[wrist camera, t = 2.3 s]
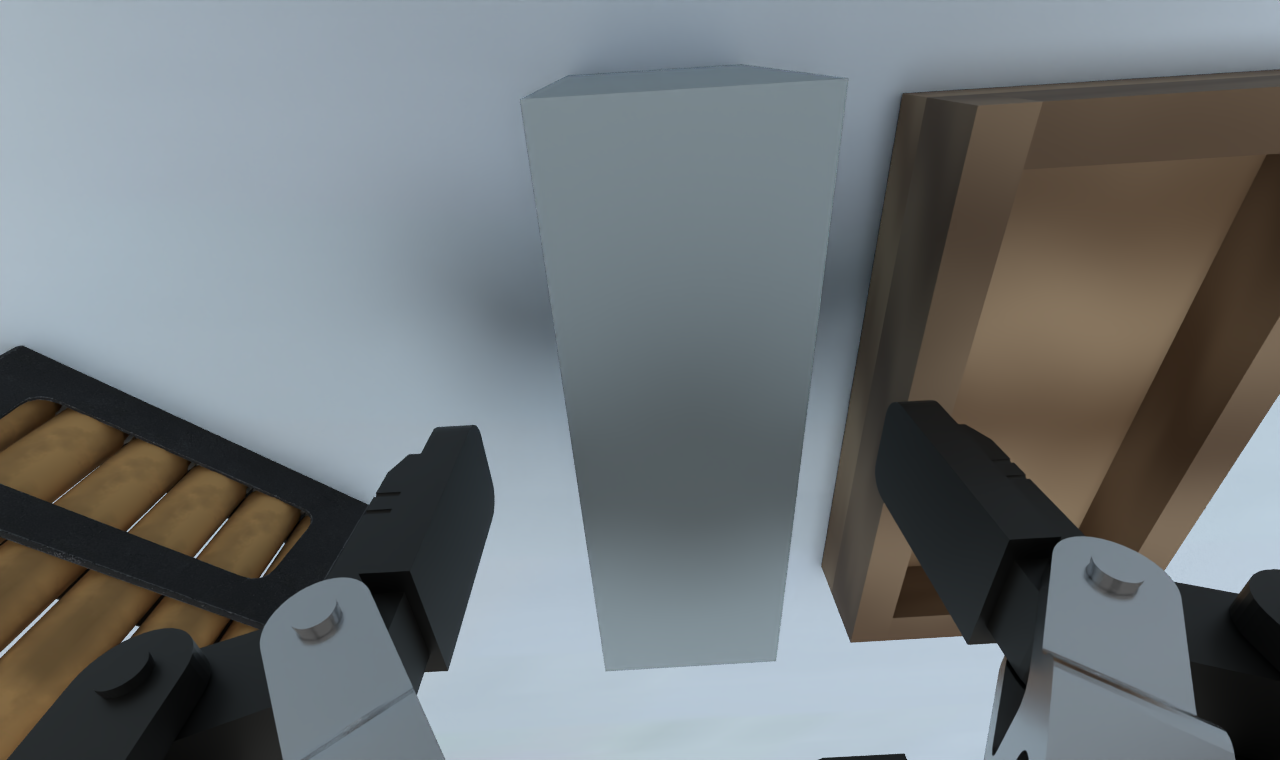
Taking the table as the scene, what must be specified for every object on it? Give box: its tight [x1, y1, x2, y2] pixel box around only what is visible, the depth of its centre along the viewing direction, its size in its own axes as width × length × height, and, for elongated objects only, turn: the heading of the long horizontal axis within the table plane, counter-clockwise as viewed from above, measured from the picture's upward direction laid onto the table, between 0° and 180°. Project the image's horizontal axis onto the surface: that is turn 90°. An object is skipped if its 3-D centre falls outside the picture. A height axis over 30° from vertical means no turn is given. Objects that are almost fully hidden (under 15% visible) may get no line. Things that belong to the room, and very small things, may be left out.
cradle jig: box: [821, 70, 1280, 642], centre depth 16 cm, size 16×9×3 cm, turn 3°
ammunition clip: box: [0, 346, 369, 760], centre depth 13 cm, size 11×2×12 cm, turn 52°
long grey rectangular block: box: [520, 65, 848, 671], centre depth 13 cm, size 12×4×7 cm, turn 3°
